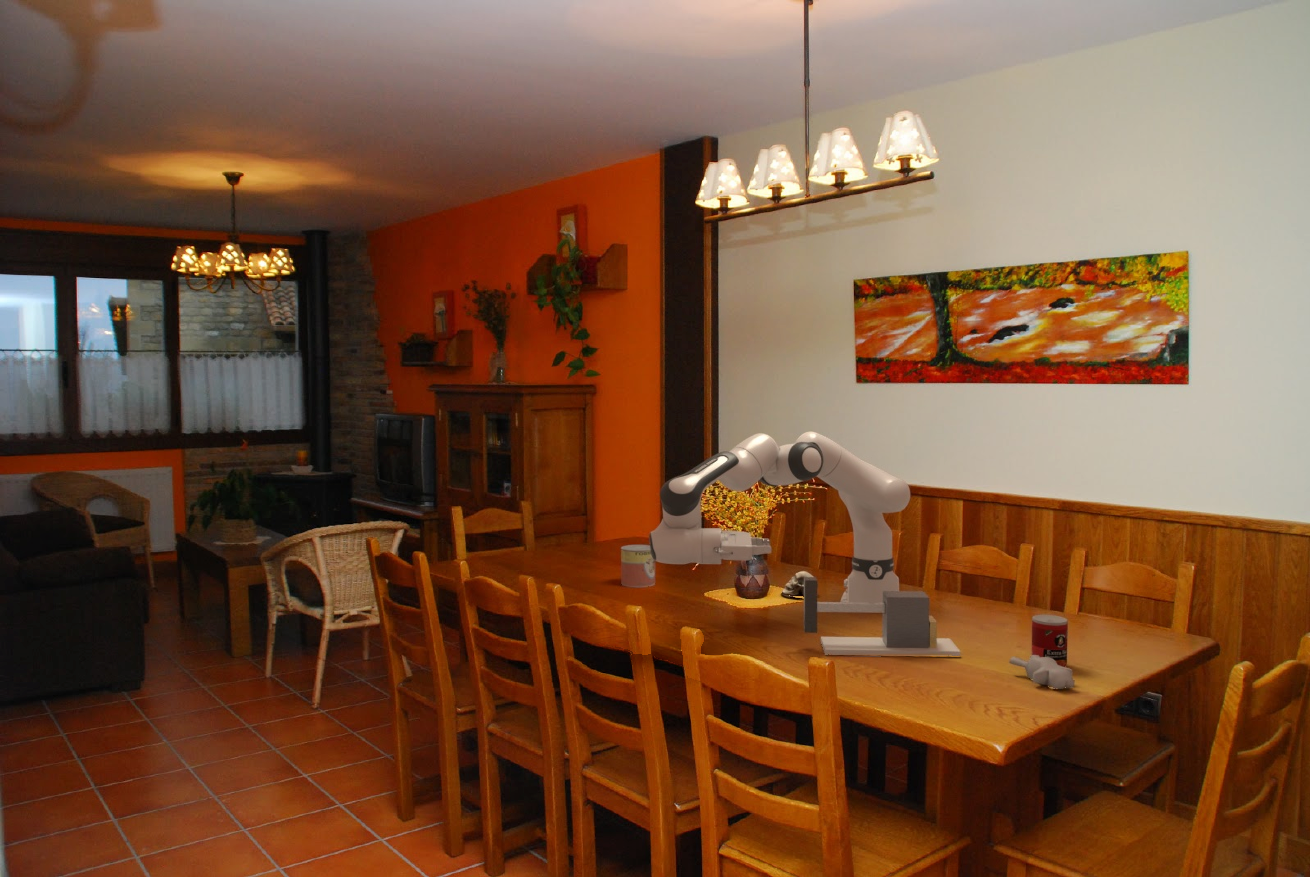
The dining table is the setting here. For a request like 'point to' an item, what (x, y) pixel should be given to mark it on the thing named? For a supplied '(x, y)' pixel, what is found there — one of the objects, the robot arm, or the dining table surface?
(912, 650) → the base plate
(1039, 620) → the canned food
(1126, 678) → the dining table surface
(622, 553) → the canned food
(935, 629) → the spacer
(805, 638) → the dining table surface
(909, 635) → the block
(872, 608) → the shaft
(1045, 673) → the bunny figurine
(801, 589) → the skull
